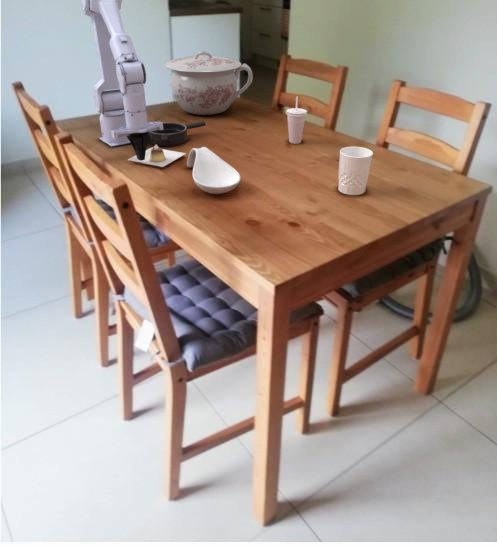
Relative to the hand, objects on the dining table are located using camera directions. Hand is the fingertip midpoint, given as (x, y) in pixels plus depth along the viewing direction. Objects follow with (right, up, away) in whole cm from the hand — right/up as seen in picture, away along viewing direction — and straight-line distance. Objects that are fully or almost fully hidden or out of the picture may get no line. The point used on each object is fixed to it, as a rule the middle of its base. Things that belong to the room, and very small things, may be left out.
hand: (141, 159), depth 139 cm
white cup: (+56, -11, -14) cm, 59 cm away
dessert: (+4, 0, +4) cm, 5 cm away
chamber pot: (+14, +29, +48) cm, 58 cm away
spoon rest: (+20, -8, -10) cm, 24 cm away
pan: (+5, +10, +18) cm, 21 cm away
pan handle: (+12, +15, +22) cm, 29 cm away
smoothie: (+45, +10, +18) cm, 49 cm away
